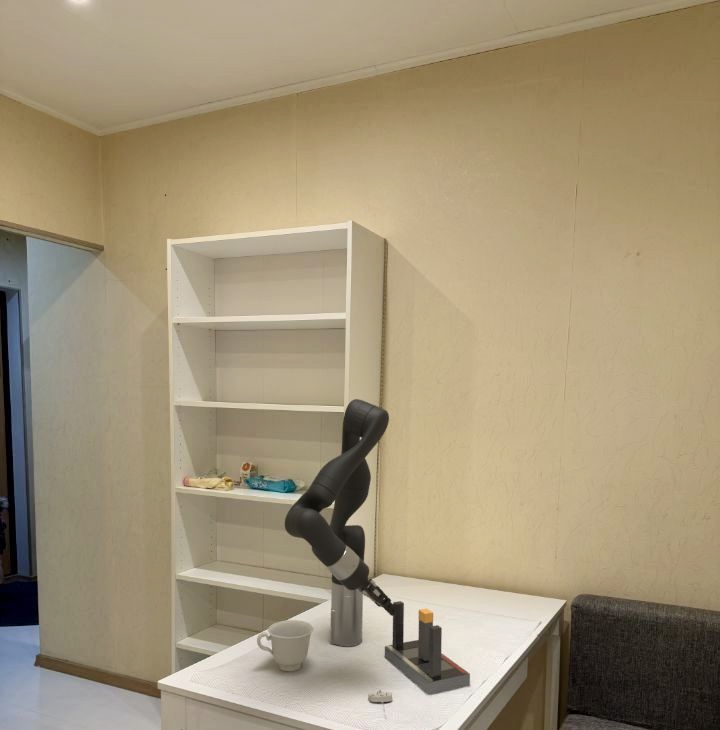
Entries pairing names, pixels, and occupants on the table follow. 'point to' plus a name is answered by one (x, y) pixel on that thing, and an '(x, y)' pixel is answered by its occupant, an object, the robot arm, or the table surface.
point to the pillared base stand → (425, 674)
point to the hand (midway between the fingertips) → (388, 608)
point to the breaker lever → (424, 633)
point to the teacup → (288, 643)
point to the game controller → (380, 697)
